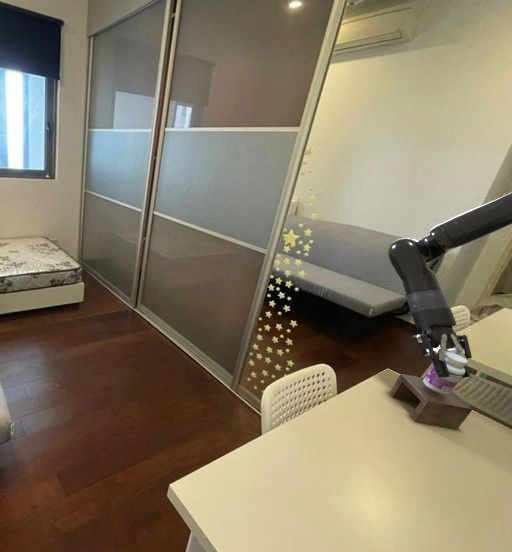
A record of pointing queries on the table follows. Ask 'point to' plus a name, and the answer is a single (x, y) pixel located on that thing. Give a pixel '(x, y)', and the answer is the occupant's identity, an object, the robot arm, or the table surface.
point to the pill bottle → (455, 370)
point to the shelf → (431, 403)
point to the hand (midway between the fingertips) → (454, 377)
